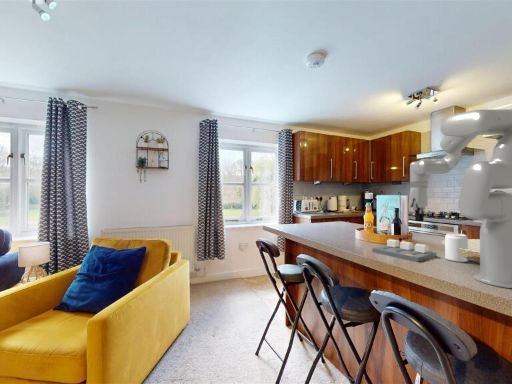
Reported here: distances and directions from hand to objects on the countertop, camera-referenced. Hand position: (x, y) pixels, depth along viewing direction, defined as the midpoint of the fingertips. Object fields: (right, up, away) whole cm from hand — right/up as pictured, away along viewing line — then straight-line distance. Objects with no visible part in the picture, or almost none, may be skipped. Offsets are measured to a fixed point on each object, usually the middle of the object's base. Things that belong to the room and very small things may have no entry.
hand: (419, 221), depth 124 cm
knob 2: (-6, -15, +1) cm, 16 cm away
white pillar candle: (+9, -17, -12) cm, 23 cm away
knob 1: (-10, -15, +7) cm, 19 cm away
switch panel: (-9, -17, -1) cm, 19 cm away
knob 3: (-2, -15, -5) cm, 15 cm away
